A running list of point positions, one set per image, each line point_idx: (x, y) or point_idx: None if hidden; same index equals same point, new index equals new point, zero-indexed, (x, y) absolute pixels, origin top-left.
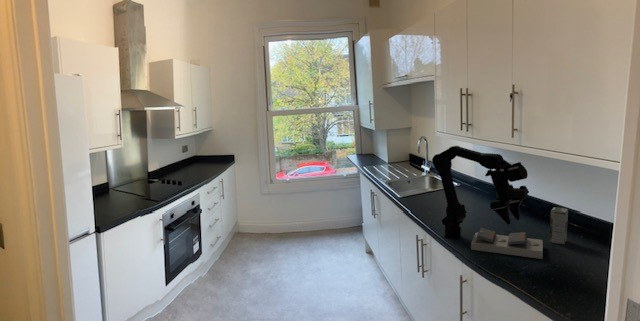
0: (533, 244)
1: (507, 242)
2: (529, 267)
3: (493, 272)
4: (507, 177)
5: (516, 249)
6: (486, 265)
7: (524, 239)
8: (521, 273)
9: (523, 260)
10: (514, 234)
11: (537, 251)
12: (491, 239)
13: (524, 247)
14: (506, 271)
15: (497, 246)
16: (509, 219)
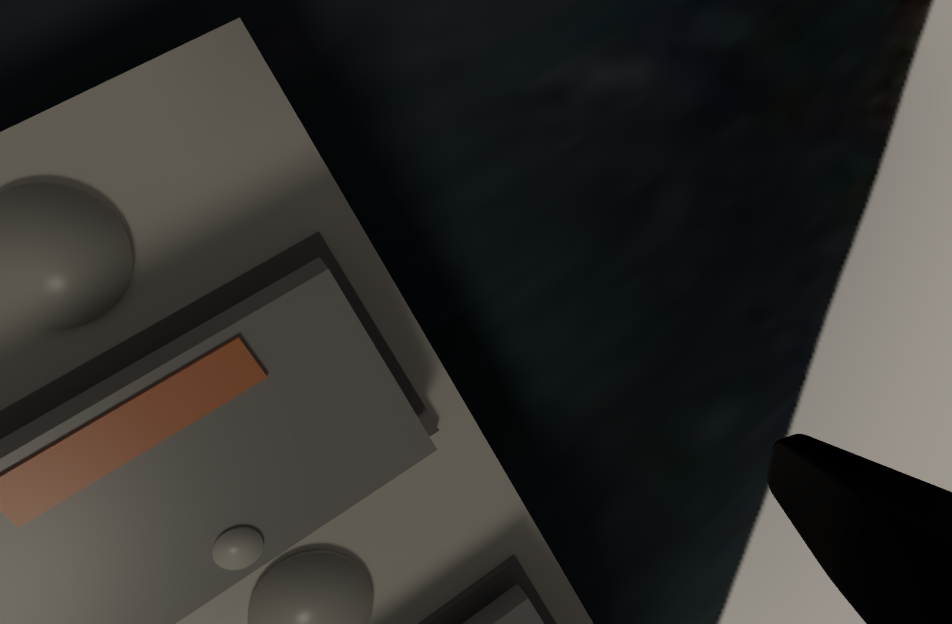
0: (78, 250)
1: None
2: (575, 34)
3: (869, 191)
4: None
5: (408, 312)
6: (799, 315)
7: (276, 300)
8: (742, 19)
9: (458, 173)
10: (86, 600)
11: (277, 82)
12: (535, 611)
13: (325, 255)
14: (790, 132)
15: (515, 492)
16: (919, 491)
